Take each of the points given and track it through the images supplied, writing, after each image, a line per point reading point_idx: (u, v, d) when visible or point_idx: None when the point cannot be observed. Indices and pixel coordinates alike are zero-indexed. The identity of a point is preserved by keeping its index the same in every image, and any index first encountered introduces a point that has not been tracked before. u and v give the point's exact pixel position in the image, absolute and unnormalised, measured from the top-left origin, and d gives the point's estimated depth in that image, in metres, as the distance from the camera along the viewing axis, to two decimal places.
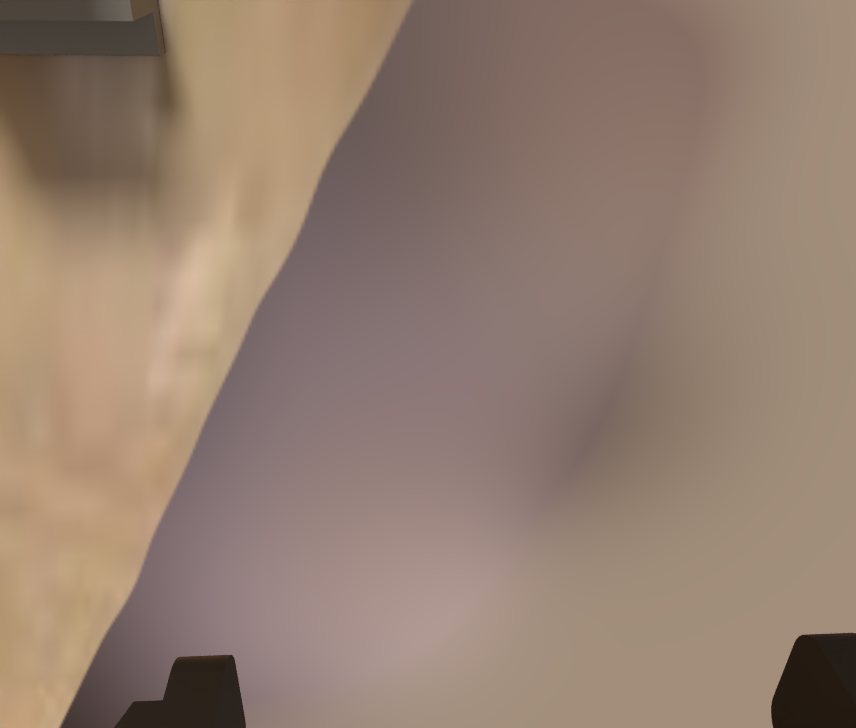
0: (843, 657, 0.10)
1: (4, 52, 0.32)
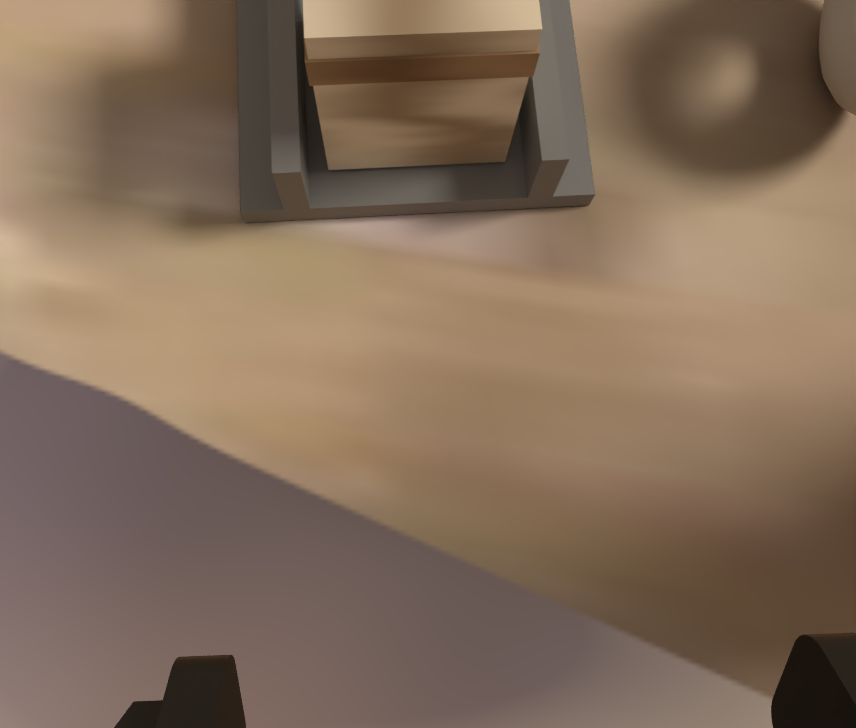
0: (843, 657, 0.10)
1: (239, 66, 0.31)
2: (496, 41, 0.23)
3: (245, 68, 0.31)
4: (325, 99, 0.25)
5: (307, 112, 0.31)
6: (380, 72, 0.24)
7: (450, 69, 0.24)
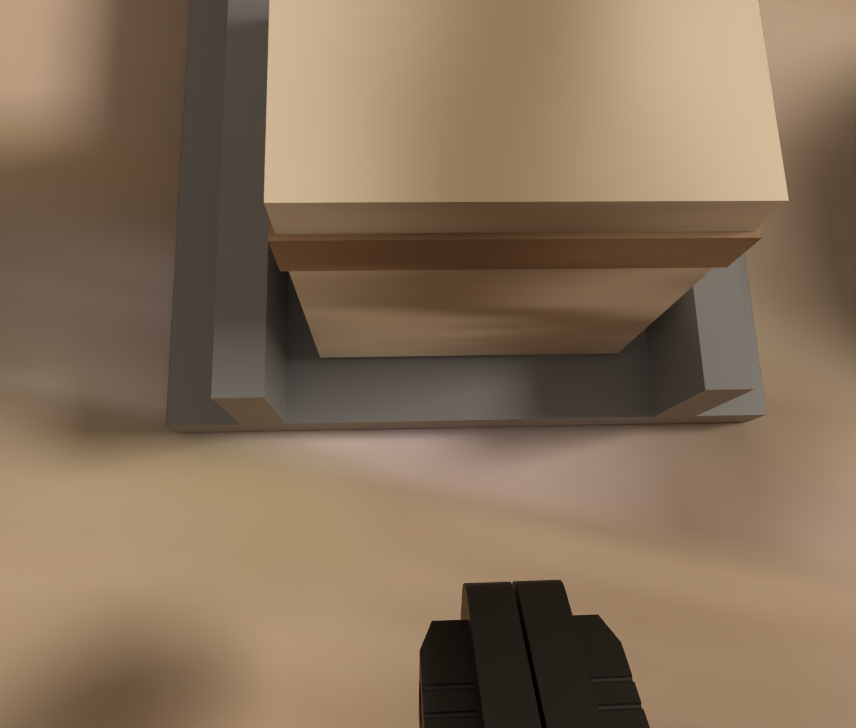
0: (535, 599, 0.11)
1: (183, 170, 0.19)
2: (680, 216, 0.11)
3: (193, 173, 0.19)
4: (312, 285, 0.13)
5: None
6: (425, 257, 0.12)
7: (568, 255, 0.12)
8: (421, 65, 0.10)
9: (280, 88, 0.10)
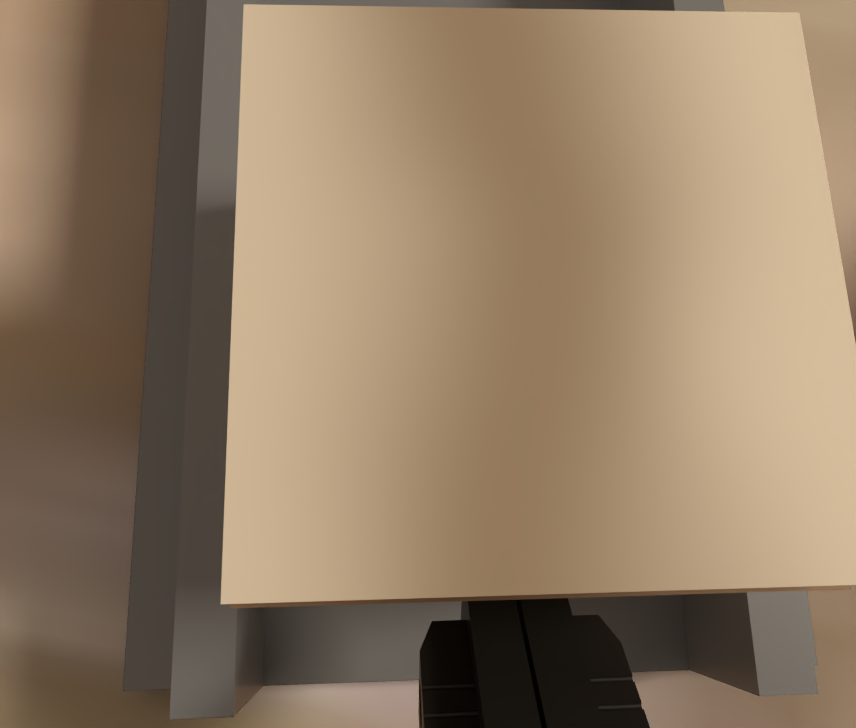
0: (535, 600, 0.11)
1: (148, 371, 0.16)
2: None
3: (158, 376, 0.16)
4: None
5: None
6: None
7: None
8: (425, 399, 0.08)
9: (244, 436, 0.08)
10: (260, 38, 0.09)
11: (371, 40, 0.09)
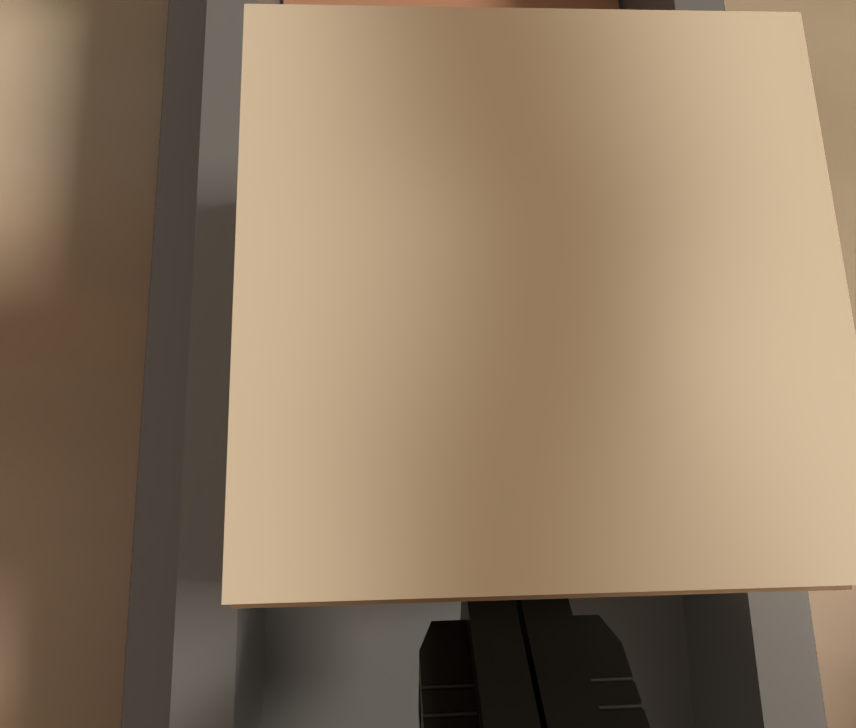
0: (536, 599, 0.11)
1: None
2: None
3: None
4: None
5: None
6: None
7: None
8: (426, 400, 0.08)
9: (245, 436, 0.08)
10: (261, 37, 0.09)
11: (372, 39, 0.09)
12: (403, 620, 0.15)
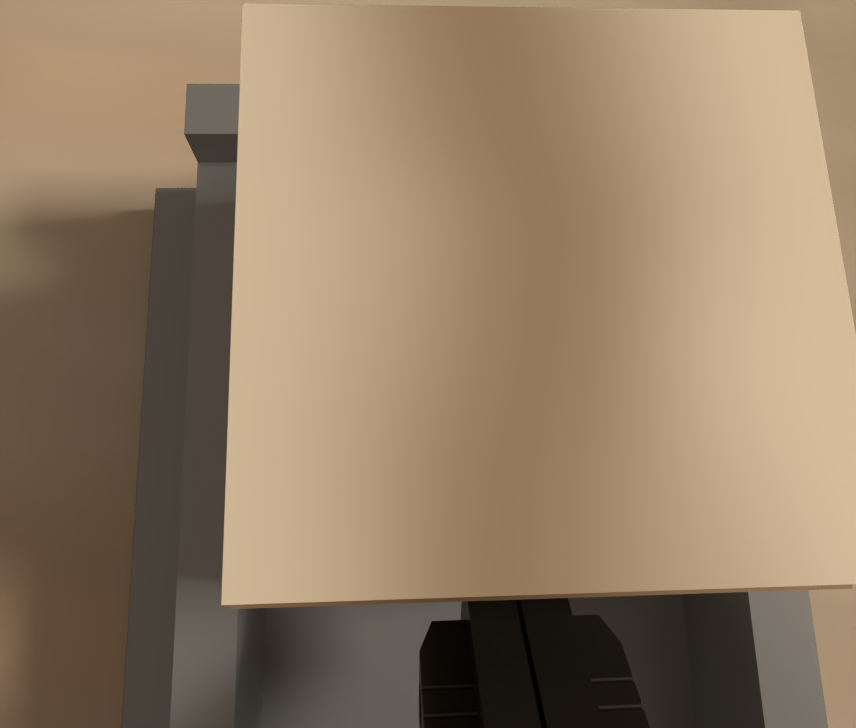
0: (535, 600, 0.11)
1: None
2: None
3: None
4: None
5: None
6: None
7: None
8: (426, 399, 0.08)
9: (244, 436, 0.08)
10: (259, 37, 0.09)
11: (370, 39, 0.09)
12: None
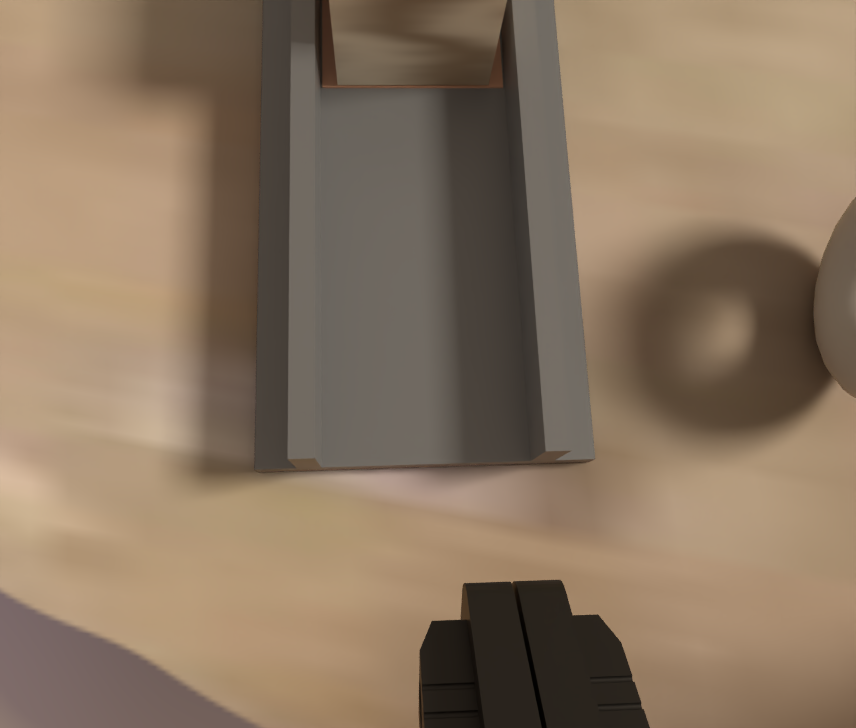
0: (535, 599, 0.11)
1: (259, 318, 0.32)
2: None
3: (264, 320, 0.32)
4: (338, 12, 0.30)
5: (322, 367, 0.32)
6: None
7: None
8: None
9: None
10: None
11: None
12: (384, 243, 0.33)
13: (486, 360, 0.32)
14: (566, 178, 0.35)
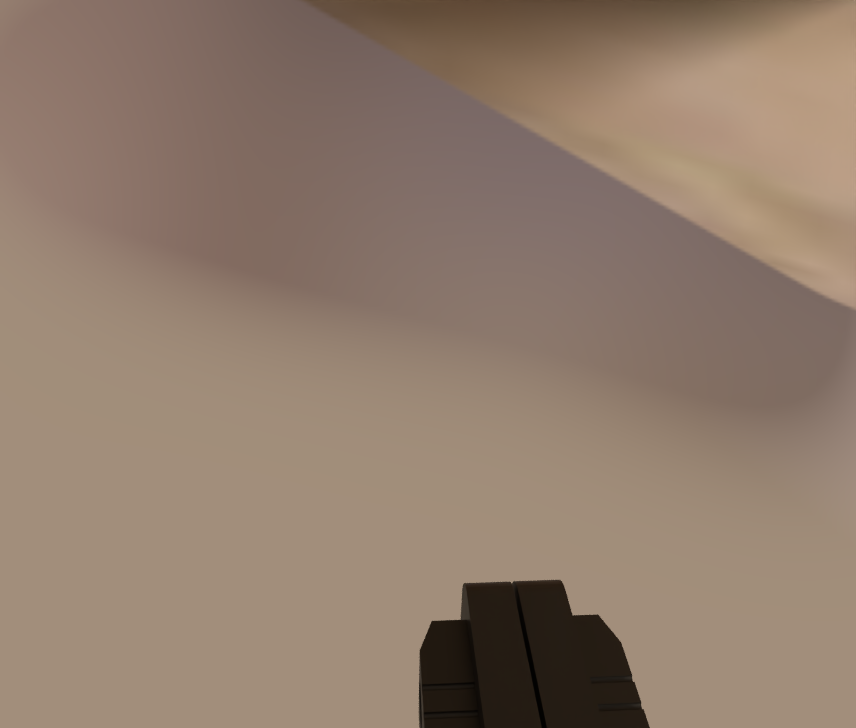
0: (535, 599, 0.11)
1: None
2: None
3: None
4: None
5: None
6: None
7: None
8: None
9: None
10: None
11: None
12: None
13: None
14: None
